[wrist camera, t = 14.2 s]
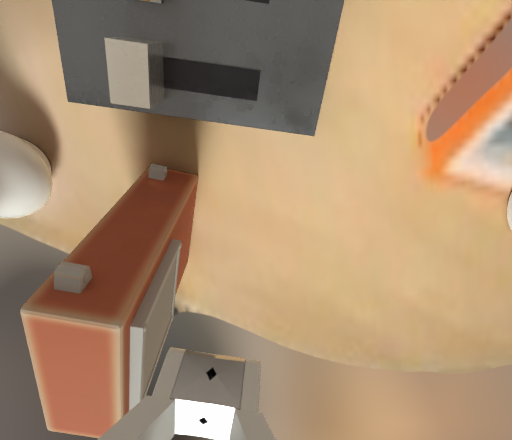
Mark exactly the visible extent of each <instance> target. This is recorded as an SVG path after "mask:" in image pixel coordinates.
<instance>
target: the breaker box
mask: <svg viewBox="0 0 512 440" xmlns="http://www.w3.org/2000/svg"><path fill="white" fill-rule="evenodd" d="M343 3H344V0H161V3H154V2H148V1H141V0H52V4H53V10H54V17H55V23H56V29H57V36H58V42H59V48H60V54H61V61H62V67H63V73H64V80H65V86H66V92H67V99H68V102H74V103H81V104H89V105H96V106H103V107H110V108H117V109H124V110H131V111H138V112H146V113H153V114H160V115H167V116H174V117H181V118H188V119H196V120H203V121H210V122H217V123H224V124H231V125H238V126H245V127H253V128H260V129H267V130H274V131H281V132H288V133H295V134H302V135H310V136H314V135H315V130H316V126H317V121H318V117H319V112H320V108H321V103H322V99H323V94H324V89H325V85H326V80H327V76H328V71H329V67H330V62H331V58H332V53H333V49H334V44H335V40H336V35H337V31H338V26H339V21H340V17H341V12H342V8H343Z"/></svg>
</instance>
